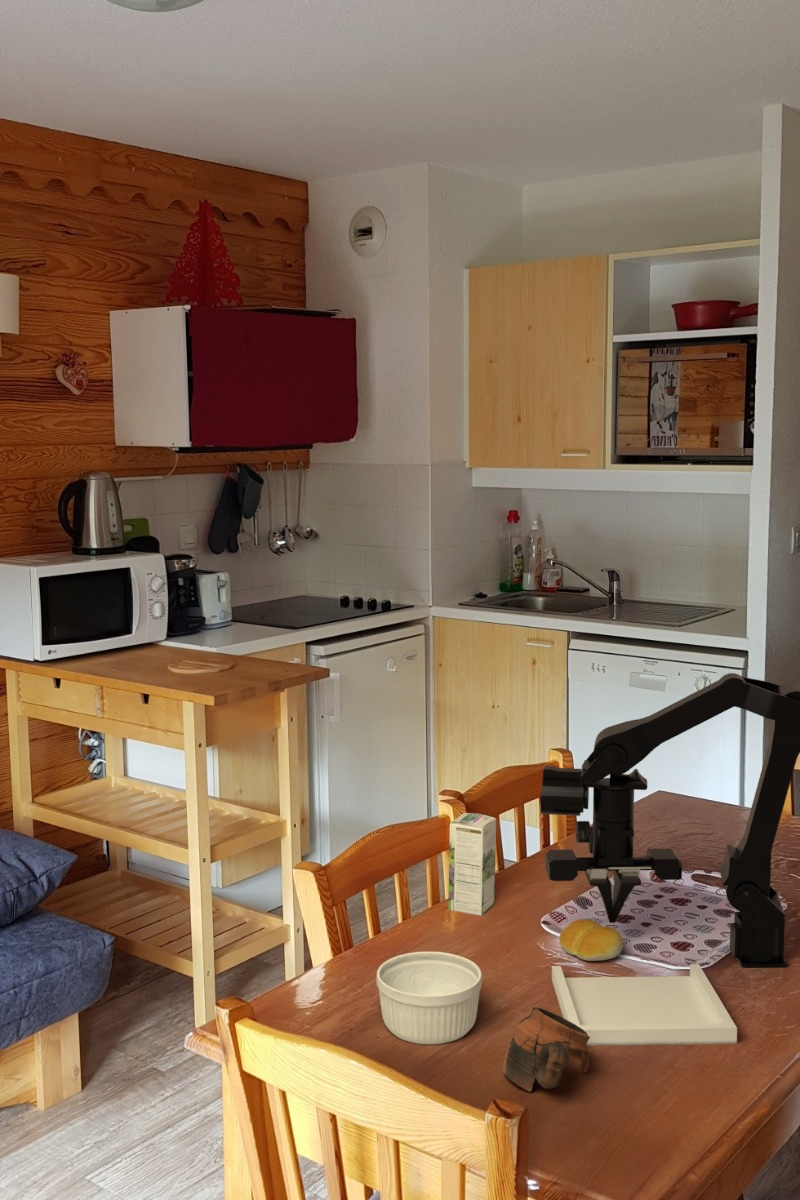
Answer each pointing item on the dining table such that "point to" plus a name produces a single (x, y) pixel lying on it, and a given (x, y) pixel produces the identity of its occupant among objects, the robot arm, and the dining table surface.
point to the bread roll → (590, 940)
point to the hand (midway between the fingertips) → (611, 921)
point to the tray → (645, 1009)
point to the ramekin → (429, 996)
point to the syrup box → (472, 863)
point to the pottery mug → (543, 1049)
